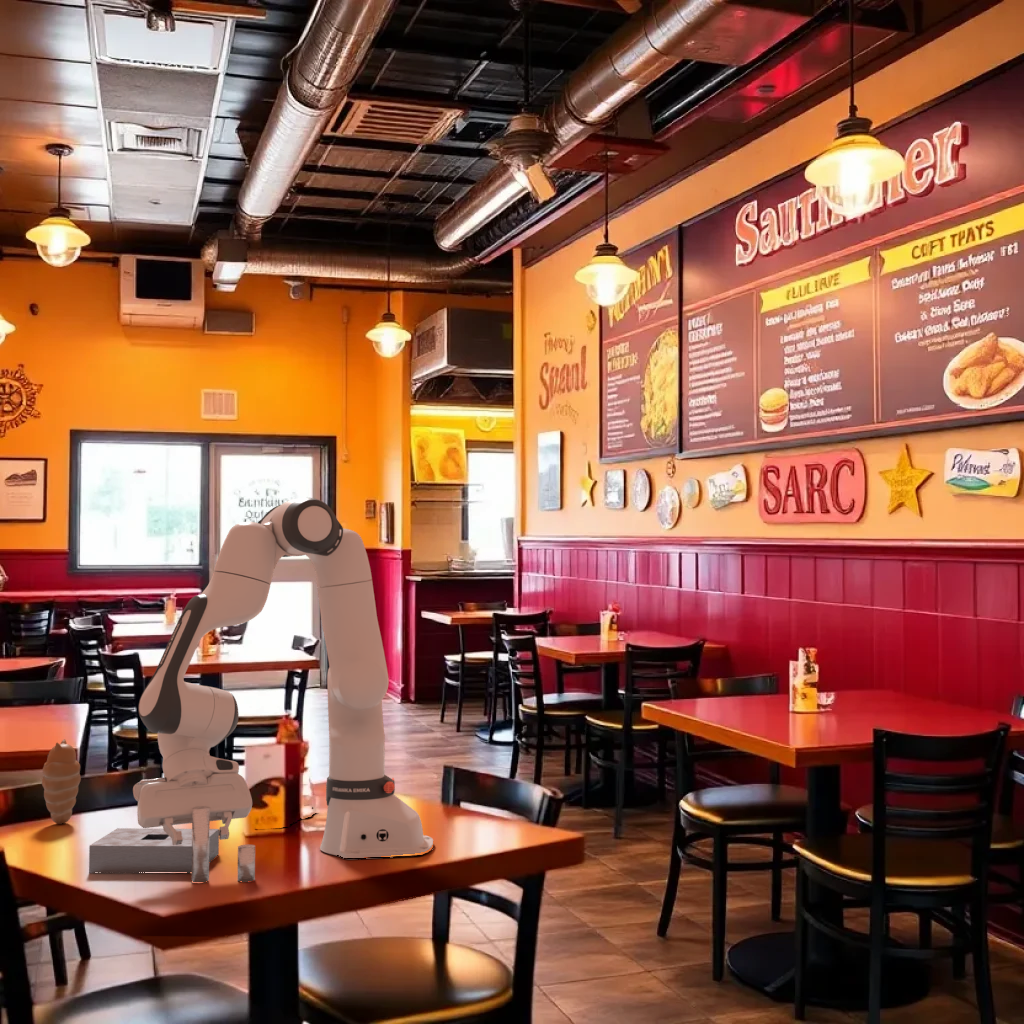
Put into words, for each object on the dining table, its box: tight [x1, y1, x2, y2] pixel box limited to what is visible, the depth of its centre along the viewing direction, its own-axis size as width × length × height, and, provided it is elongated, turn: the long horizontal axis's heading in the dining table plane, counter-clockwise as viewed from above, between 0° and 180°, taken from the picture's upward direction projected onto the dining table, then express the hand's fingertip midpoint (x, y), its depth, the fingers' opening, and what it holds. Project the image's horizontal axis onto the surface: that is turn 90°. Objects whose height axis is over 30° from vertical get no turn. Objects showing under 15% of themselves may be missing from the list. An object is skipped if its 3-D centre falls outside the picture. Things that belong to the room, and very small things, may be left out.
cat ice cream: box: [41, 739, 82, 825], centre depth 253 cm, size 9×8×18 cm
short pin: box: [237, 844, 256, 883], centre depth 208 cm, size 3×3×6 cm
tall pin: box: [191, 806, 211, 882], centre depth 207 cm, size 3×3×13 cm
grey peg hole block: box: [88, 827, 220, 874], centre depth 219 cm, size 20×14×5 cm
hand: (201, 840), depth 207 cm, fingers open, 7 cm apart
